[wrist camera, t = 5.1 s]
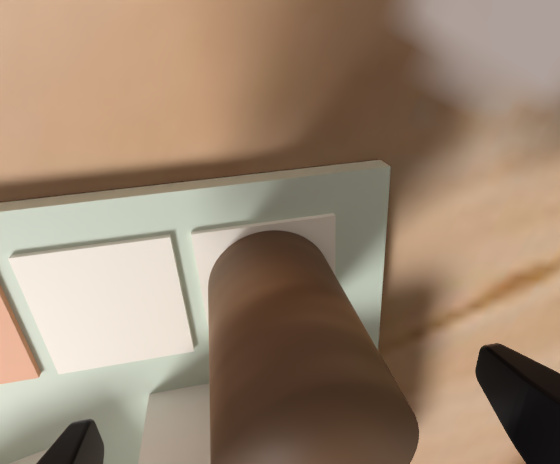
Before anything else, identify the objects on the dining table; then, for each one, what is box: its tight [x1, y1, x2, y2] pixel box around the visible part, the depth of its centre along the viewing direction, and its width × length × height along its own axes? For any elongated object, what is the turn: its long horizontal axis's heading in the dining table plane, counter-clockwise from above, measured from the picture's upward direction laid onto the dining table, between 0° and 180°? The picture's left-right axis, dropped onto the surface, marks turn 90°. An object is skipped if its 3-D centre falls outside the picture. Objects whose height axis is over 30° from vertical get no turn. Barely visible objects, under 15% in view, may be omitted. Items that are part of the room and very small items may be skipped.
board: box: [0, 160, 391, 464], centre depth 13 cm, size 18×16×4 cm
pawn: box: [208, 230, 419, 464], centre depth 10 cm, size 4×4×6 cm
